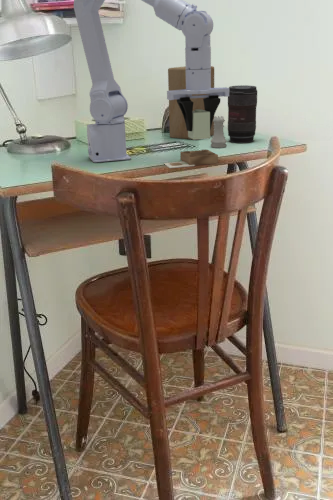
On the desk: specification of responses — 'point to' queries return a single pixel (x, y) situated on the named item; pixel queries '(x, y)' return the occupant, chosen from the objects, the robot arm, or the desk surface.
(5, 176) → the desk surface
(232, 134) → the camera lens
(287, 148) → the desk surface
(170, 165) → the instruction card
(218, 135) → the rook chess piece
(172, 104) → the wooden block
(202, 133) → the top brick
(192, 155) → the base brick
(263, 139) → the desk surface
